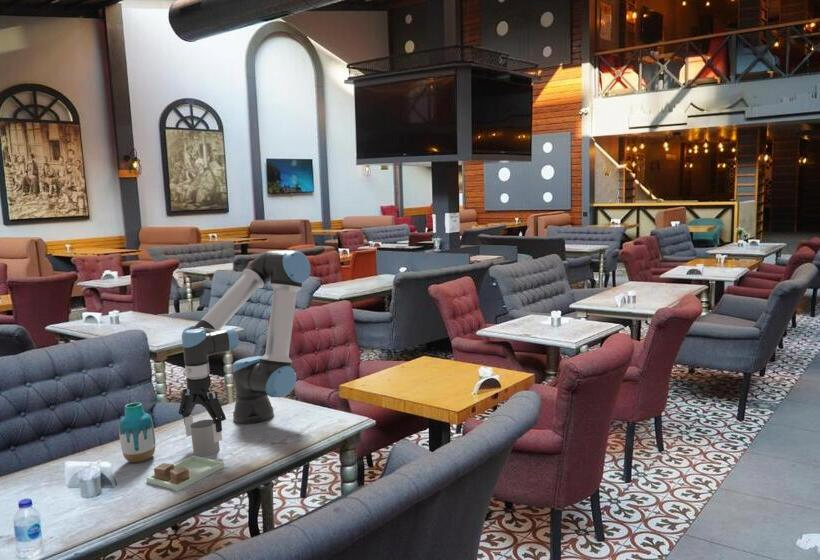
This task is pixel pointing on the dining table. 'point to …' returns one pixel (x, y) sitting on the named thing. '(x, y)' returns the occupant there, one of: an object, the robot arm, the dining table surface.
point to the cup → (203, 438)
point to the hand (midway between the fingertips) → (204, 438)
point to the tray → (190, 471)
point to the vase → (136, 434)
